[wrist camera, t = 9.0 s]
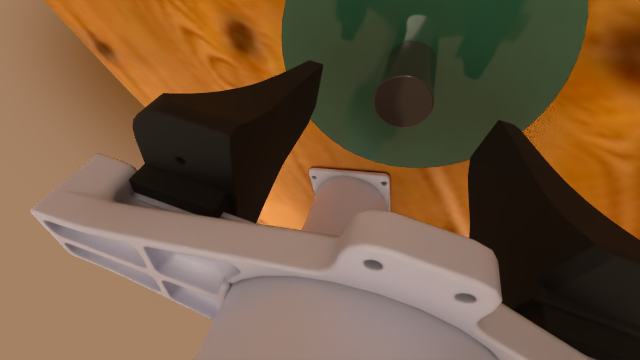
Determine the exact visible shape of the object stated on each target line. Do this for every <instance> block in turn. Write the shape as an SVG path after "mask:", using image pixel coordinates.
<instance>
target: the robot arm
mask: <svg viewBox="0 0 640 360" xmlns="http://www.w3.org/2000/svg"><path fill="white" fill-rule="evenodd" d="M323 65H324V64H321V63H317V62H314V61H311V60H308V61H306V62H304V63H302V64H300V65H298V66H296V67H294V68H292V69H290V70H288V71H286V72H284V73H282V74H279V75H277V76H274V77H272V78H270V79H267V80H265V81H262V82H259V83H256V84H253V85H249V86H245V87H241V88H236V89H230V90H225V91H219V92H209V93H194V94H169V93H163V94H162V95H160V96H159V97H158V98H157V99H155V100H154V101H153V102H152V103H150V104H149V105H148V106H147V107H146V108H144V109H143V110H142V111H141V112H140V113H138V114H137V115H136V117H135V118H134V120H133V131H134V135H135V138H136V141H137V143H138V146H139V149H140V152H141V154H142V157H143V159H144V162H145V164H144V165H143V166H142V167H141V168H140V169H139V170H138V171H137V170H136V168H134V167H133V166H132V165H130V164H128V163H126V162H123V161H120V160H118V159H115V158H112V157H109V156H106V155H103V154H99V153H97V154H96V155H95V156H94V157H92V158H91V159H90V160H89V161H88V162H87V163H85V164H84V165H83V166H82V167H80V168H79V169H78V170H77V171H76V172H74V173H73V174H72V175H71V176H70V177H69V178H67V179H66V180H65V181H64V182H62V183H61V184H60V185H59V186H58V187H57V188H55V189H54V190H53V191H52V192H50V193H49V194H48V195H47V196H46V197H44V198H43V199H42V200H41V201H40V202H38V203H37V204H36V205H35V206H34V207H32V208H31V209H30V212H31V214H32V215H33V216H34V217H35V218H36V219H37V220H38V221H39V222H40V223H41V224H42V225H43V226H44V227H45V228H46V229H47V230H48V231H49V232H50V233H51V235H52V236H53V237H54V238H55V239H56V240H57V241H58V242H59V243H60V244H61V245H62V246H63V247H64V248H65V249H66V250H67V251H68V252H69V253H70V254H71V255H73V256H76V257H79V258H81V259H83V260H86V261H88V262H91V263H93V264H96V265H98V266H100V267H103V268H105V269H107V270H110V271H112V272H114V273H116V274H119V275H121V276H123V277H125V278H127V279H129V280H131V281H134V282H136V283H138V284H140V285H142V286H144V287H146V288H148V289H150V290H152V291H155V292H156V293H158V294H160V295H162V296H164V297H166V298H169V299H171V300H173V301H175V302H177V303H179V304H181V305H183V306H185V307H187V308H189V309H191V310H193V311H195V312H197V313H199V314H201V315H203V316H205V317H208V318H210V319H211V320H213V323H212V325H211V327H210V328H209V330H208V332H207V334H206V336H205V338H204V340H203V342H202V344H201V346H200V348H199V350H198V352H197V354H196V355H195V357H194V359H193V360H640V240H639V239H637V238H636V237H634V236H633V235H631V234H630V233H628V232H627V231H625V230H624V229H622V228H621V227H620V226H618V225H617V224H615V223H614V222H613V221H611V220H610V219H609V218H607V217H606V216H605V215H603V214H602V213H601V212H599V211H598V210H597V209H596V208H594V207H593V206H592V205H591V204H589V203H588V202H587V201H586V200H585V199H584V198H583V197H581V196H580V195H579V194H578V193H577V192H576V191H575V190H574V189H573V188H571V187H570V186H569V185H568V184H567V183H566V182H565V181H564V180H563V179H562V177H561V176H560V175H559V174H558V173H557V172H556V171H555V170H554V169H553V168H552V167H551V166H550V165H549V163H548V162H547V161H546V160H545V159H544V158H543V156H542V155H541V154H540V153H539V152H538V150H537V149H536V148H535V147H534V146H533V144H532V143H531V142H530V141H529V140H528V138H527V137H526V136H525V135H524V134H523V133H522V132H521V130H520V129H519V128H518V127H517V126H515V125H514V124H511V123H508V122H505V121H502V120H498V121H497V123H496V124H495V125H494V126H493V128H492V129H491V130H490V132H489V133H488V134H487V136H486V137H485V138H484V140H483V141H482V142H481V144H480V145H479V146H478V148H477V149H476V150H475V152H474V153H473V154H472V156H471V158H470V164H469V172H468V192H469V211H470V236H469V238H467V237H464V236H461V235H458V234H456V233H453V232H450V231H447V230H444V229H441V228H438V227H435V226H432V225H429V224H427V223H424V222H421V221H418V220H415V219H412V218H409V217H406V216H403V215H400V214H397V213H395V212H391V208H390V176H389V175H388V174H386V173H375V172H362V171H349V170H336V169H323V168H311V169H310V170H309V176H310V179H311V183H312V187H313V191H314V195H315V199H314V201H313V204H312V206H311V208H310V211H309V213H308V216H307V218H306V221H305V223H304V226H303V228H302V230H296V229H289V228H282V227H275V226H269V225H262V224H256V222H257V220H258V218H259V215H260V213H261V211H262V208H263V206H264V204H265V201H266V199H267V197H268V195H269V193H270V190H271V188H272V186H273V184H274V182H275V180H276V177H277V175H278V173H279V171H280V169H281V167H282V165H283V163H284V162H285V160H286V158H287V156H288V155H289V153H290V152H291V150H292V149H293V147H294V145H295V144H296V142H297V141H298V139H299V138H300V136H301V134H302V133H303V131H304V130H305V128H306V126H307V125H308V123H309V120H310V118H311V116H312V114H313V111H314V109H315V107H316V102H317V97H318V92H319V86H320V81H321V76H322V71H323ZM315 176H316V177H315Z"/></svg>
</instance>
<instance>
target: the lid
mask: <svg viewBox="0 0 640 360" xmlns="http://www.w3.org/2000/svg"><path fill="white" fill-rule="evenodd" d="M587 19H588V0H286V3H285V8H284V14H283V20H282V51H283V58H284V63H285V69H286V71H288V70H290V69H292V68H294V67H296V66H298V65H300V64H302V63H304V62H306V61H308V60H311V61H314V62H317V63H321V64H324V65H323V71H322V76H321V81H320V86H319V92H318V97H317V102H316V107H315V109H314V111H313V114H312V116H311V118H310V119H311V120H312V122H313V123H314V124H315V125H316V126H317V127H318V128H319V129H320V130H321V131H322V132H323V133H324V134H326V135H327V136H328V137H329V138H330V139H331V140H333V141H334V142H336V143H337V144H339V145H340V146H341V147H343V148H345V149H347V150H348V151H350V152H352V153H354V154H356V155H358V156H361V157H363V158H365V159H368V160H371V161H375V162H378V163H382V164H386V165H391V166H398V167H406V168H428V167H439V166H445V165H451V164H455V163H459V162H463V161H466V160H469V159H470V158H471V156H472V154H473V153H474V152H475V150H476V149H477V148H478V146H479V145H480V144H481V142H482V141H483V140H484V138H485V137H486V136H487V134H488V133H489V132H490V130H491V129H492V128H493V126H494V125H495V124H496V123H497V121H498V120H502V121H505V122H508V123H511V124H514V125H515V126H517V127H518V128H519V129H520V130H521V132H522V131H523V130H524V129H526V128H527V127H528V126H529V125H531V124H532V123H533V122H534V121H535V120H536V119H537V118H538V117H539V116H540V115H541V114H542V113H543V112H544V111H545V110H546V108H547V107H548V106H549V105H550V104H551V103H552V101H553V100H554V99H555V98H556V96H557V95H558V93H559V92H560V90H561V89H562V87H563V86H564V84H565V83H566V81H567V80H568V78H569V76H570V73H571V71H572V69H573V67H574V65H575V63H576V61H577V59H578V56H579V53H580V50H581V47H582V44H583V40H584V37H585V31H586V25H587Z"/></svg>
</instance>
